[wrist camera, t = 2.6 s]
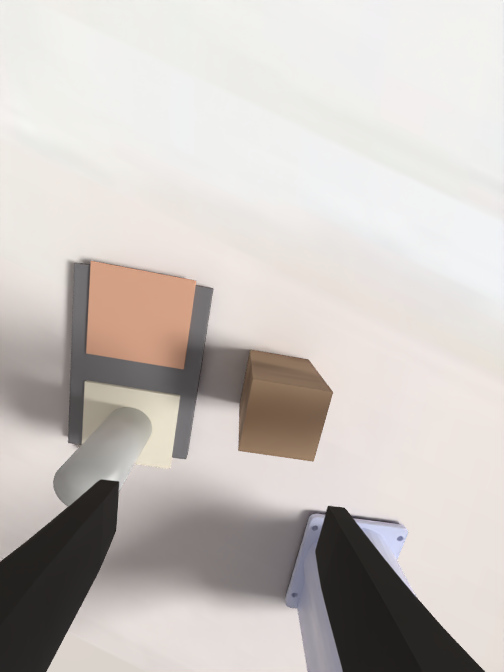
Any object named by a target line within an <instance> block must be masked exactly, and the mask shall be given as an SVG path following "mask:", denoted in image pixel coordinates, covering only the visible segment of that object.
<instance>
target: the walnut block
mask: <svg viewBox="0 0 504 672" xmlns="http://www.w3.org/2000/svg"><path fill="white" fill-rule="evenodd" d="M332 394H333V392H332V390H331V389H330V388H329V386H328V385H327V384H326V382H325V381H324V380H323V378H322V377H321V376H320V374H319V373H318V372H317V370H316V369H315V368H314V366H313V365H312V364H311V362H310V361H309V360H307V359H302V358H296V357H290V356H284V355H278V354H273V353H267V352H261V351H255V350H250V353H249V358H248V364H247V369H246V374H245V379H244V384H243V389H242V394H241V399H240V408H239V448H238V451H244V452H251V453H258V454H265V455H272V456H279V457H286V458H293V459H300V460H307V461H314V458H315V455H316V451H317V447H318V444H319V440H320V437H321V433H322V430H323V426H324V423H325V419H326V415H327V412H328V408H329V405H330V401H331V398H332Z"/></svg>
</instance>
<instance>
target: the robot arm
mask: <svg viewBox="0 0 504 672" xmlns="http://www.w3.org/2000/svg"><path fill="white" fill-rule="evenodd" d="M118 494H119V481H112V480H103V479H100V480H99V481H97V482H96V483H95V484H94V485H93V486H92V487H90V488H89V489H88V490H87V491H86V492H85V493H84V494H82V495H81V496H80V497H79V498H78V499H77V500H76V501H74V502H73V503H72V504H71V505H70V506H69V507H67V508H66V509H65V510H64V511H63V512H62V513H60V514H59V515H58V516H57V517H56V518H54V519H53V520H52V521H51V522H50V523H48V524H47V525H46V526H45V527H43V528H42V529H41V530H40V531H39V532H37V533H36V534H35V535H34V536H33V537H31V538H30V539H29V540H28V541H26V542H25V543H24V544H23V545H21V546H20V547H19V548H17V549H16V550H15V551H14V552H12V553H11V554H10V555H8V556H7V557H6V558H4V559H3V560H2V561H1V562H0V672H46V671H47V669H48V667H49V666H50V664H51V662H52V660H53V658H54V656H55V654H56V652H57V650H58V648H59V646H60V645H61V643H62V641H63V639H64V637H65V635H66V633H67V631H68V629H69V627H70V626H71V624H72V622H73V620H74V618H75V616H76V614H77V612H78V610H79V608H80V607H81V605H82V603H83V601H84V599H85V597H86V595H87V593H88V591H89V589H90V587H91V585H92V584H93V582H94V580H95V578H96V576H97V574H98V572H99V570H100V568H101V565H102V563H103V561H104V558H105V556H106V554H107V551H108V549H109V547H110V544H111V542H112V539H113V537H114V534H115V532H116V524H117V509H118ZM314 525H315V526H314ZM407 534H408V530H407V529H406V527H405V526H404V525H402V524H394V523H386V522H378V521H371V520H363V519H355V518H352V516H351V515H350V514H349V513H348V511H347V510H346V509H345V508H342V507H333V506H328V508H327V511H326V515H324V514H312V515H311V516H310V517H309V519H308V523H307V526H306V530H305V533H304V537H303V540H302V543H301V547H300V550H299V554H298V557H297V560H296V564H295V567H294V571H293V574H292V577H291V581H290V584H289V588H288V591H287V594H286V598H285V601H286V605H287V606H288V607H290V608H297V609H298V615H299V622H300V628H301V634H302V640H303V646H304V652H305V659H306V665H307V671H308V672H485V671H484V670H483V669H482V668H481V667H480V666H479V665H478V664H477V663H476V662H475V661H474V660H473V659H472V658H471V657H470V656H469V654H468V653H467V652H466V651H465V650H464V649H463V648H462V647H461V646H460V645H459V644H458V643H457V642H456V641H455V640H454V639H453V638H452V637H451V636H450V634H449V633H448V632H447V631H446V630H445V629H444V628H443V627H442V626H441V625H440V623H439V622H438V621H437V620H436V619H435V618H434V617H433V616H432V614H431V613H430V612H429V611H428V610H427V609H426V608H425V606H424V605H423V604H422V603H421V602H420V601H419V600H418V598H417V597H416V595H415V593H414V591H413V589H412V587H411V585H410V584H409V582H408V580H407V578H406V576H405V574H404V572H403V571H402V569H401V567H400V565H399V563H398V561H397V559H398V557H399V554H400V552H401V549H402V547H403V544H404V542H405V539H406V537H407Z"/></svg>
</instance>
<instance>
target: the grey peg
mask: <svg viewBox="0 0 504 672" xmlns="http://www.w3.org/2000/svg"><path fill="white" fill-rule="evenodd" d="M151 433H152V424H151V421H150V419H149V418H148V416H147V415H146V414H145V413H143V412H142V411H140V410H138V409H136V408H132V407H122V408H119V409H116V410H115V411H113V412H112V413H111V414H110V415H109V416H108V417H107V418H106V419H105V420H104V422H103V423H102V424H101V425H100V426H99V427H98V428H97V429H96V430H95V431H94V432H93V433H92V434H91V435H90V436H89V438H88V439H87V440H86V441H85V442H84V443H83V444H82V445H81V446H80V447H79V448H78V449H77V450H76V451H75V452H74V454H73V455H72V456H71V457H70V458H69V459H68V460H67V461H66V462H65V463H64V464H63V465H62V466H61V467H60V468H59V470H58V471H57V472H56V474H55V476H54V481H53V485H54V490H55V493H56V495H57V496H58V498H59V499H60V500H61V501H62V502H63V503H64V504H65V505H67V506H68V507H69V506H70V505H71V504H72V503H73V502H74V501H76V500H77V499H78V498H79V497H80V496H81V495H82V494H84V493H85V492H86V491H87V490H88V489H89V488H90V487H92V486H93V485H94V484H95V483H96V482H97V481H99V480H100V479H103V480H112V481H119V491H120V489H121V487H122V486H123V484H124V482H125V480H126V479H127V477H128V475H129V473H130V471H131V470H132V468H133V466H134V464H135V463H136V461H137V459H138V457H139V456H140V454H141V452H142V450H143V449H144V447H145V445H146V443H147V441H148V440H149V438H150V436H151Z"/></svg>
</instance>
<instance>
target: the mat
mask: <svg viewBox="0 0 504 672" xmlns="http://www.w3.org/2000/svg"><path fill="white" fill-rule="evenodd" d="M212 294H213V288H208V287H203V286H198V285H196V281H194V280H189V279H184V278H179V277H173V276H168V275H163V274H158V273H153V272H147V271H142V270H137V269H132V268H126V267H121V266H116V265H111V264H105V263H100V262H95V261H91V265H87V264H82V263H75V267H74V295H73V323H72V351H71V378H70V406H69V434H68V443H72V444H79V445H82V444H83V443H84V442H85V441H86V440H87V439H88V438H89V436H90V435H91V434H92V433H93V432H94V431H95V430H96V429H97V428H98V427H99V426H100V425H101V424H102V423H103V422H104V420H105V419H106V418H107V417H108V416H109V415H110V414H111V413H112V412H113V411H115V410H116V409H119V408H122V407H132V408H136V409H138V410H140V411H142V412H143V413H145V414H146V415H147V416H148V418H149V419H150V421H151V424H152V433H151V436H150V438H149V440H148V441H147V443H146V445H145V447H144V449H143V450H142V452H141V454H140V456H139V457H138V459H137V461H136V463H135V464H136V465H143V466H150V467H158V468H165V469H170V466H171V459H172V457H173V458H180V459H186V458H187V455H188V449H189V443H190V436H191V430H192V423H193V417H194V410H195V404H196V397H197V391H198V384H199V378H200V372H201V365H202V359H203V352H204V346H205V339H206V333H207V326H208V320H209V313H210V307H211V301H212Z"/></svg>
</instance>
